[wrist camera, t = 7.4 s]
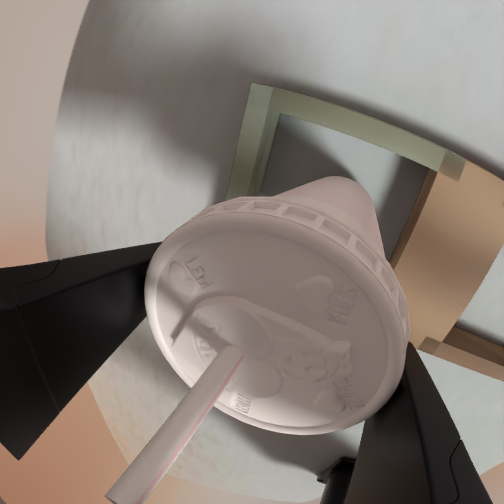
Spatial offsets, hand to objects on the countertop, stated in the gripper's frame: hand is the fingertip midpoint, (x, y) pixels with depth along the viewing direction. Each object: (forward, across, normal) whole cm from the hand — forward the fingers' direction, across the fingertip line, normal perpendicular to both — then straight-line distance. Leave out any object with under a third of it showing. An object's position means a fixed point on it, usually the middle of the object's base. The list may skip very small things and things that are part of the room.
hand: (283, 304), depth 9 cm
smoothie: (+8, 0, 0) cm, 8 cm away
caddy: (+9, -6, 0) cm, 11 cm away
